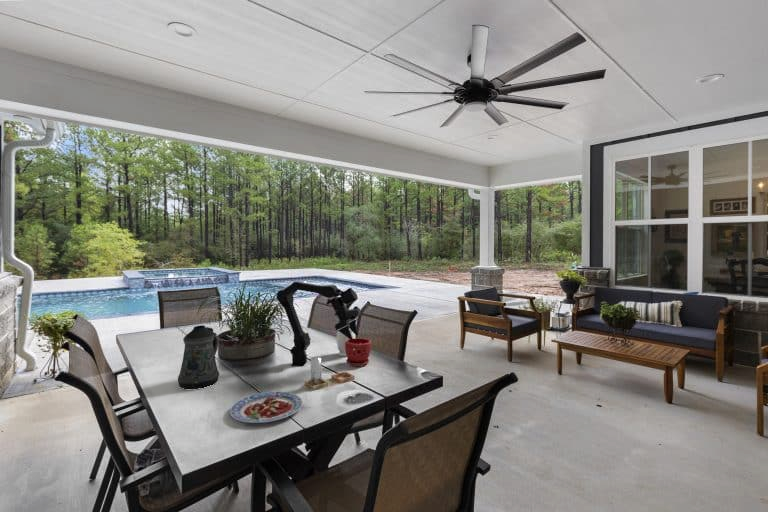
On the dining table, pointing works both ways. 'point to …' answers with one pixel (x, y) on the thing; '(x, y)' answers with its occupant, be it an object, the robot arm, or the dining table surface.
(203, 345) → the beer stein
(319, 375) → the cylinder
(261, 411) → the ceramic plate
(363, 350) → the plant pot
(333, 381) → the brown divided tray
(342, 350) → the jar
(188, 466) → the dining table surface
